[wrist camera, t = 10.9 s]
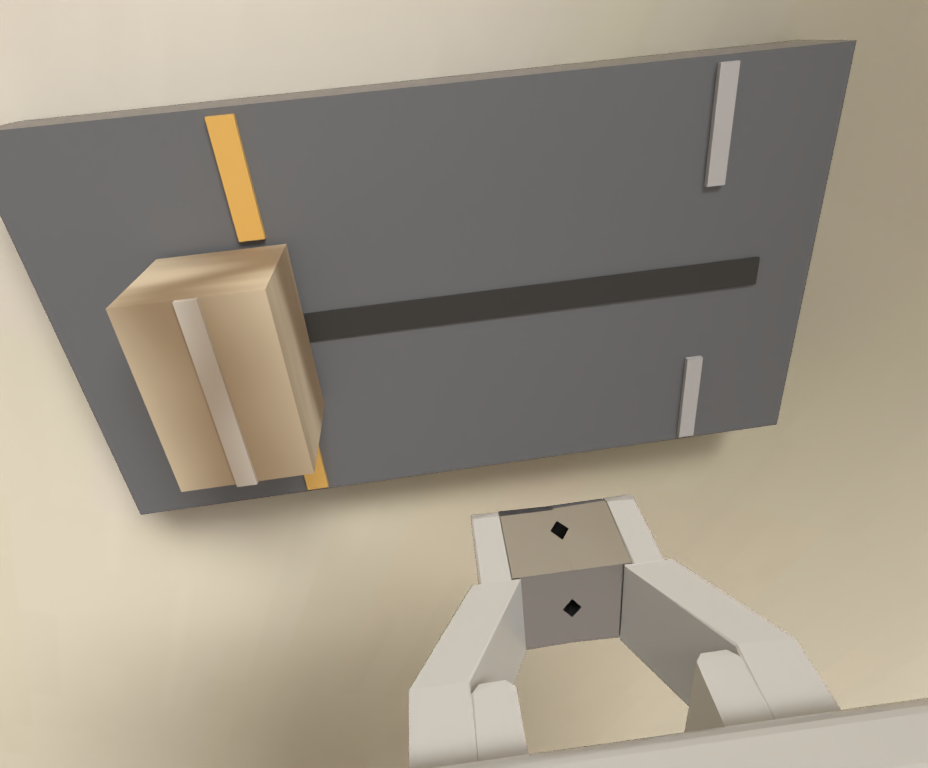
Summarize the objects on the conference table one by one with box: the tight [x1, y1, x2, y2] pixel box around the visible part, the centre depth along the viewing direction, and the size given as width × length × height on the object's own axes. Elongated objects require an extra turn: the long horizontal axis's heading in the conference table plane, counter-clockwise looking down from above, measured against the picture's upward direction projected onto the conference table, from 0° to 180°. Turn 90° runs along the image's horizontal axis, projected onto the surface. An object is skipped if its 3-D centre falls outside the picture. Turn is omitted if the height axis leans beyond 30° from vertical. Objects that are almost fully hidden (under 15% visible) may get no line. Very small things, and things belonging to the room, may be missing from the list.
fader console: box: [0, 40, 856, 515], centre depth 22 cm, size 26×14×3 cm, turn 95°
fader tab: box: [106, 244, 325, 492], centre depth 19 cm, size 4×6×4 cm, turn 5°
